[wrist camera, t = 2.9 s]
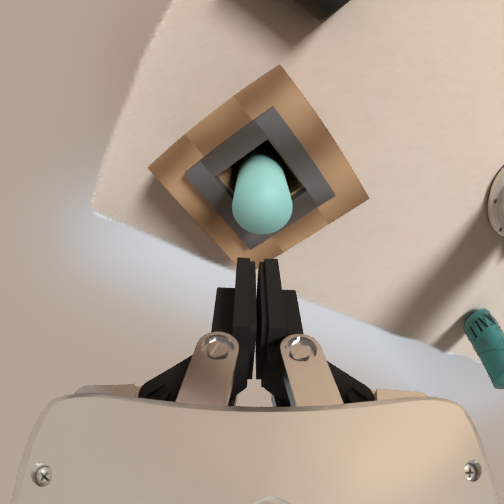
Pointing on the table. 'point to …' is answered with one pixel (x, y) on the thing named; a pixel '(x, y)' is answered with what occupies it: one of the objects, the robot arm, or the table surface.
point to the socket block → (244, 141)
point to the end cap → (322, 7)
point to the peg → (261, 193)
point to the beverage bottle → (487, 344)
